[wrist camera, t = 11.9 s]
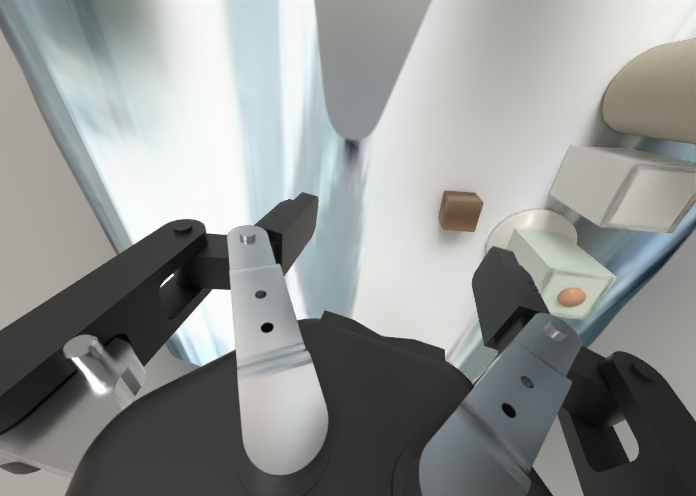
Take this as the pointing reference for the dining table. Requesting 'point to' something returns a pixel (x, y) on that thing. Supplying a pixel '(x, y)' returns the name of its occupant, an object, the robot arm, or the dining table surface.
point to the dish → (530, 226)
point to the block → (460, 211)
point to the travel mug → (656, 94)
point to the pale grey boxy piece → (561, 272)
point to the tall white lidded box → (626, 187)
